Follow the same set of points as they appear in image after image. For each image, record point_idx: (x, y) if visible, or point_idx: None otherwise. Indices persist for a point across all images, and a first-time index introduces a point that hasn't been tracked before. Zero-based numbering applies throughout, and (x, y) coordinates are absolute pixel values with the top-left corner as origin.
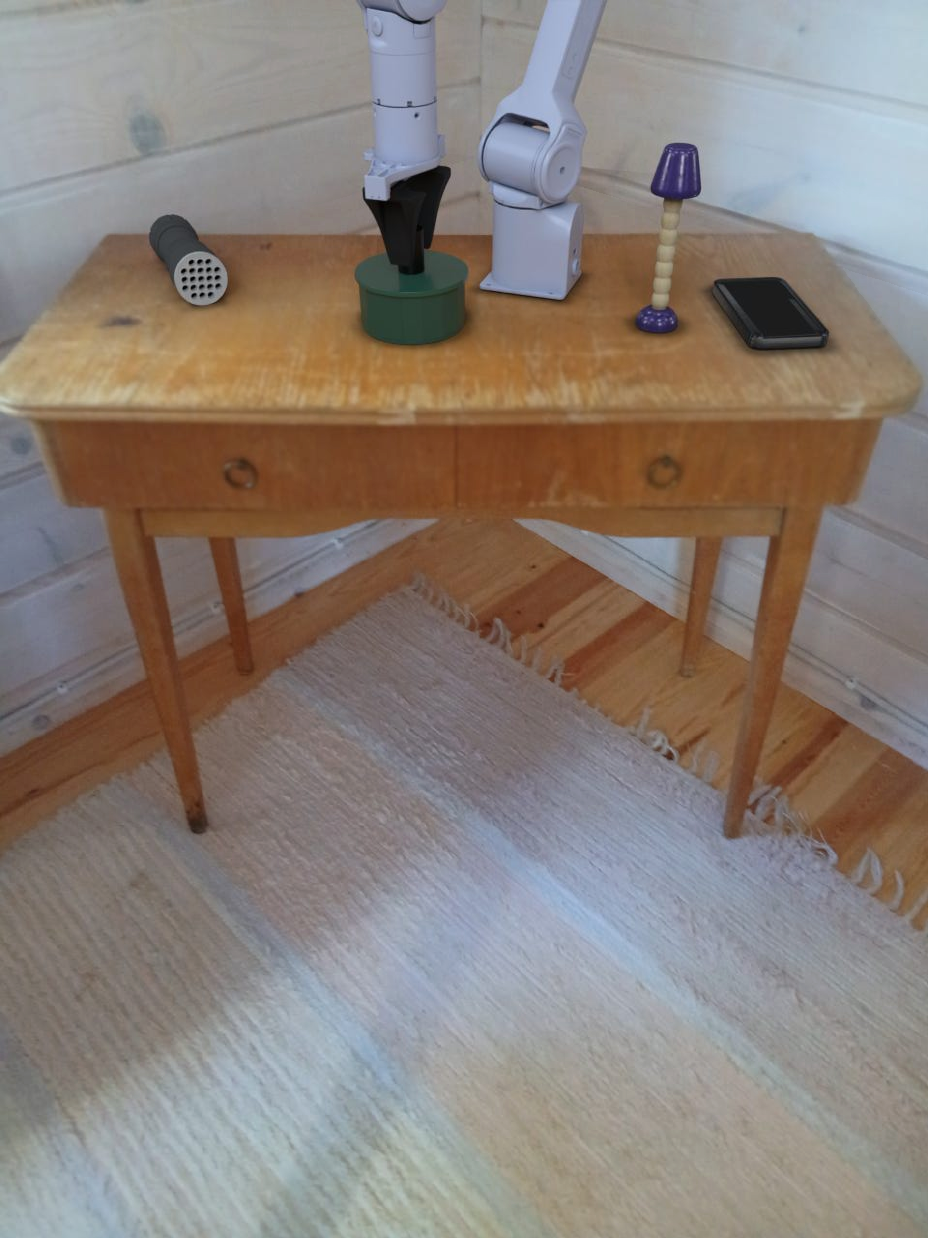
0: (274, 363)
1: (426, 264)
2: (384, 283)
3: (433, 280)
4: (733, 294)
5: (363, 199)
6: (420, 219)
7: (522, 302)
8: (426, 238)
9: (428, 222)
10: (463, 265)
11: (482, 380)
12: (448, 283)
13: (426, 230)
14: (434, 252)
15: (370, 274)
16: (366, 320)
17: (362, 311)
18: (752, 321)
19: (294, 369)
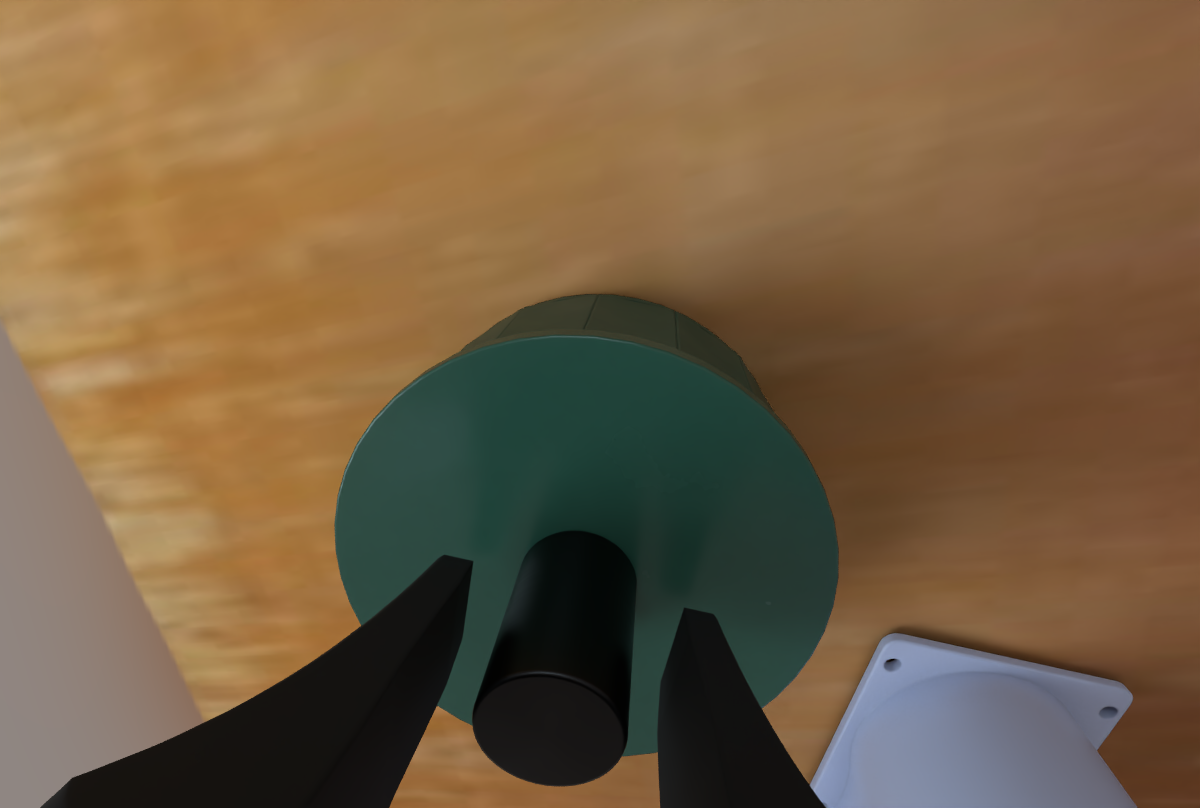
0: (163, 40)
1: (651, 624)
2: (404, 496)
3: (482, 661)
4: None
5: (73, 778)
6: (678, 779)
7: (788, 731)
8: (664, 716)
9: (665, 801)
10: (655, 742)
11: (292, 658)
12: (465, 707)
13: (664, 752)
14: (797, 642)
15: (489, 422)
16: (469, 346)
17: (496, 331)
18: None
19: (152, 138)
